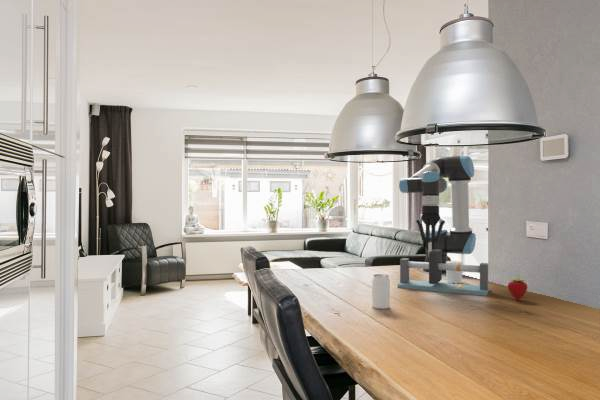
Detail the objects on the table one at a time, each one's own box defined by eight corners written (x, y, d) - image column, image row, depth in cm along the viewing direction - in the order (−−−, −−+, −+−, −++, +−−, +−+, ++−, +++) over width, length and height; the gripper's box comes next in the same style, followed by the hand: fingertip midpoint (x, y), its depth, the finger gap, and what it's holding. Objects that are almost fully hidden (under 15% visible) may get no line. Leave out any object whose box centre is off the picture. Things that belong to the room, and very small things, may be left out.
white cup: (465, 284, 218) (465, 263, 218) (448, 283, 218) (448, 263, 218) (459, 281, 225) (459, 261, 225) (443, 281, 226) (443, 261, 226)
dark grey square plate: (428, 283, 202) (428, 252, 202) (435, 278, 214) (435, 249, 214) (435, 284, 200) (435, 252, 200) (441, 279, 213) (441, 249, 213)
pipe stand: (397, 287, 208) (397, 260, 208) (405, 282, 221) (405, 257, 221) (486, 295, 191) (486, 266, 191) (489, 289, 203) (489, 262, 203)
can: (392, 309, 167) (392, 276, 167) (376, 309, 166) (376, 277, 166) (385, 305, 174) (385, 273, 174) (369, 305, 172) (369, 274, 172)
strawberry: (504, 298, 185) (504, 274, 185) (522, 298, 186) (522, 273, 186) (512, 301, 179) (512, 276, 179) (530, 301, 180) (530, 276, 180)
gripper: (414, 205, 208) (414, 256, 208) (443, 205, 202) (443, 258, 202) (418, 205, 215) (418, 254, 215) (446, 205, 209) (446, 256, 208)
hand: (430, 256), depth 208 cm, fingers closed
